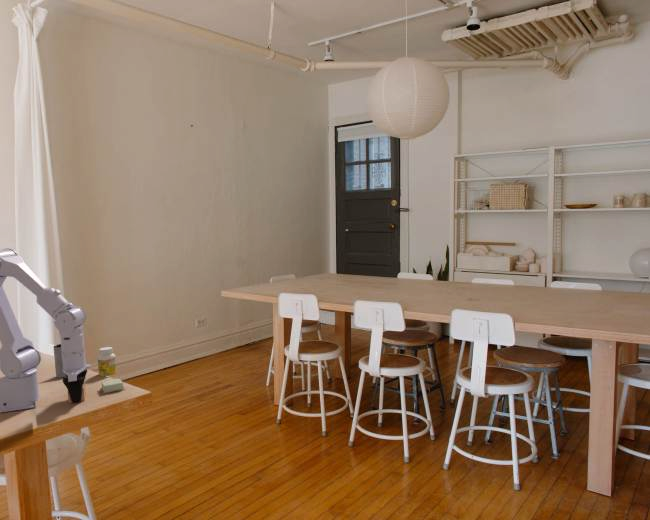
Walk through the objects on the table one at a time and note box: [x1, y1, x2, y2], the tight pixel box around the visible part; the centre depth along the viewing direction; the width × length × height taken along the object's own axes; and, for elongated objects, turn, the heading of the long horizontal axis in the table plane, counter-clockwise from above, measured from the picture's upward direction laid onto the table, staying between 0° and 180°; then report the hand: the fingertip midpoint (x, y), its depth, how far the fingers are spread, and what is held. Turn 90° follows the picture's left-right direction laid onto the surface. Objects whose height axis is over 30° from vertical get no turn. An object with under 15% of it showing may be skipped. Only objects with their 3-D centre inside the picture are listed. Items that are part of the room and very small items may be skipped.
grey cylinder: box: [53, 343, 67, 379], centre depth 175 cm, size 4×4×10 cm
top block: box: [101, 378, 124, 393], centre depth 156 cm, size 5×5×2 cm
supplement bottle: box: [97, 346, 118, 377], centre depth 172 cm, size 5×5×10 cm
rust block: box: [67, 383, 87, 404], centre depth 148 cm, size 4×4×5 cm
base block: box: [100, 386, 126, 395], centre depth 156 cm, size 6×6×2 cm
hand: (77, 399), depth 148 cm, fingers closed on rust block, 4 cm apart
